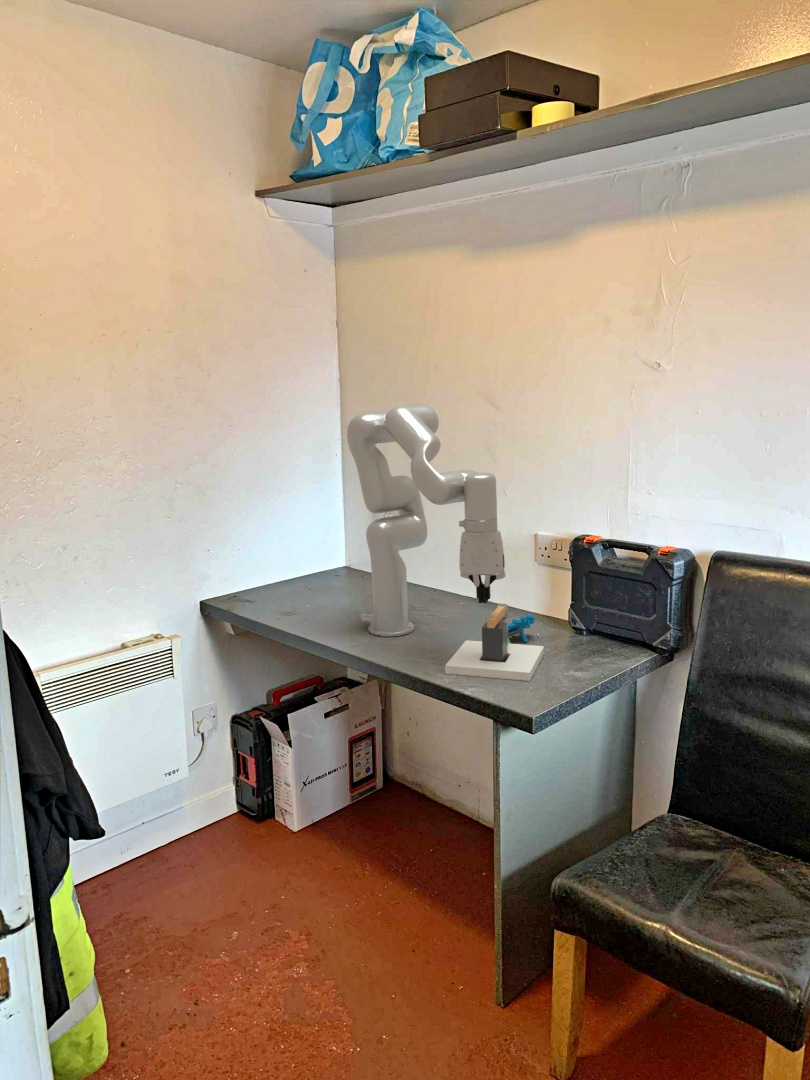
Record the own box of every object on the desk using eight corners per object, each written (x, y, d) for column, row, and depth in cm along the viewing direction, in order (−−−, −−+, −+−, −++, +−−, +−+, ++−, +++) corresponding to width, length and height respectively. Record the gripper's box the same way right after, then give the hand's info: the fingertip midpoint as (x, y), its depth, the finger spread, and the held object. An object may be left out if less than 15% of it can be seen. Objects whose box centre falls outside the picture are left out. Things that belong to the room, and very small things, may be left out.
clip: (485, 631, 193) (485, 619, 192) (499, 614, 206) (499, 603, 205) (495, 632, 192) (495, 620, 191) (508, 615, 205) (508, 603, 205)
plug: (482, 667, 196) (481, 627, 194) (487, 660, 201) (486, 621, 199) (503, 669, 195) (502, 629, 193) (507, 662, 199) (507, 622, 197)
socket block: (445, 673, 193) (444, 636, 192) (466, 647, 211) (465, 613, 209) (529, 681, 187) (529, 642, 185) (543, 653, 204) (543, 618, 203)
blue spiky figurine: (527, 626, 222) (537, 608, 213) (537, 644, 219) (548, 627, 211) (491, 637, 218) (501, 619, 210) (501, 657, 215) (511, 639, 207)
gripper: (446, 528, 191) (449, 604, 194) (509, 529, 186) (511, 607, 189) (454, 523, 198) (457, 596, 201) (516, 523, 193) (517, 599, 196)
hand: (483, 601), depth 195 cm, fingers closed
